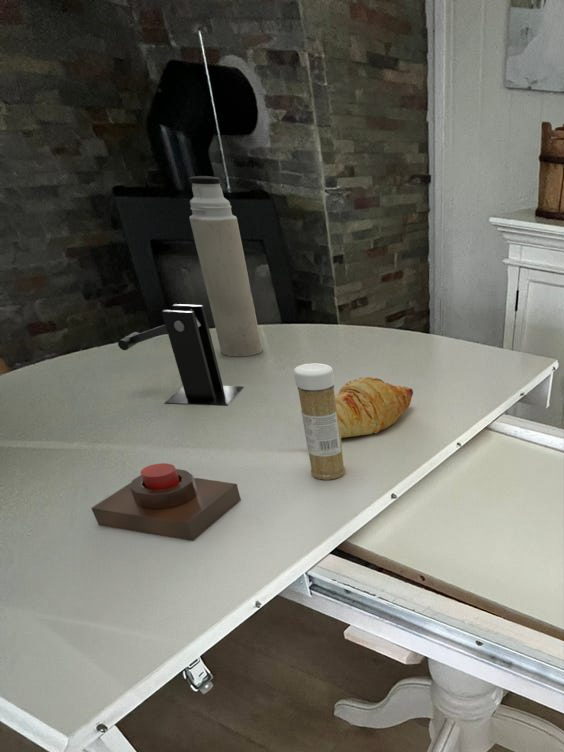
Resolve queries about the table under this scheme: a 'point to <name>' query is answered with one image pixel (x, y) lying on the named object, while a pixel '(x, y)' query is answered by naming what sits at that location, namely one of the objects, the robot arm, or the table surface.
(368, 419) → the croissant
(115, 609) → the table surface
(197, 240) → the thermos bottle
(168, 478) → the button
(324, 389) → the spice jar
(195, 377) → the bracket
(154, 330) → the lever
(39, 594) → the table surface
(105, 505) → the button block
